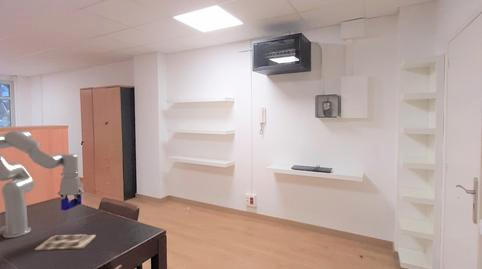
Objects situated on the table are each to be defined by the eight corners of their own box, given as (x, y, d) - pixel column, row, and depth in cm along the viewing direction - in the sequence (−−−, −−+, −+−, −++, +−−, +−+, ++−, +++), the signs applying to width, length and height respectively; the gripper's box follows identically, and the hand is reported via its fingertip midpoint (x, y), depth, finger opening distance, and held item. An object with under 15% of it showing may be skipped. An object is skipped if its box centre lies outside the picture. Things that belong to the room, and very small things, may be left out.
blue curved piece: (74, 203, 164) (74, 193, 163) (81, 203, 163) (81, 194, 163) (59, 209, 152) (58, 199, 151) (66, 210, 151) (65, 200, 151)
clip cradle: (34, 250, 135) (34, 245, 135) (51, 237, 149) (51, 233, 149) (83, 248, 137) (83, 243, 137) (95, 236, 151) (95, 232, 151)
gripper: (51, 176, 152) (52, 207, 153) (82, 176, 153) (83, 207, 155) (59, 173, 160) (60, 203, 161) (88, 173, 161) (89, 202, 162)
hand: (71, 204), depth 158 cm, fingers closed on blue curved piece, 5 cm apart
